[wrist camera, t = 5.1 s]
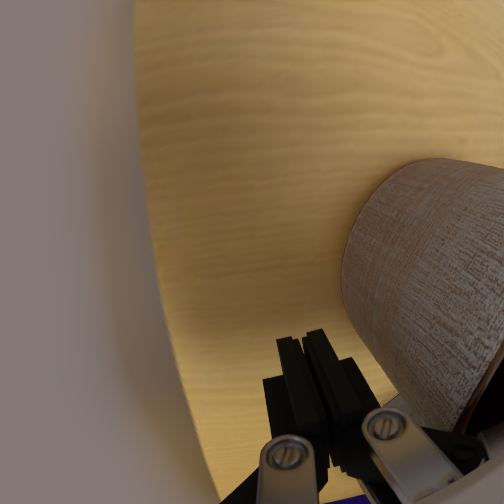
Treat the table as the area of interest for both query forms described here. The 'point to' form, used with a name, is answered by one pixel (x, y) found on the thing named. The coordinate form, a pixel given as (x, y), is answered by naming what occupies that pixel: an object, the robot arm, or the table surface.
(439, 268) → the planter
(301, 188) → the table surface
